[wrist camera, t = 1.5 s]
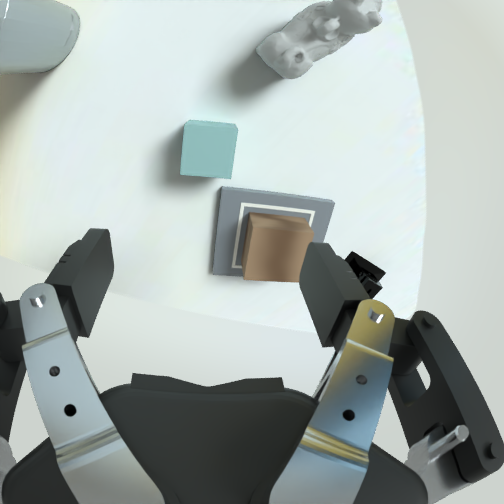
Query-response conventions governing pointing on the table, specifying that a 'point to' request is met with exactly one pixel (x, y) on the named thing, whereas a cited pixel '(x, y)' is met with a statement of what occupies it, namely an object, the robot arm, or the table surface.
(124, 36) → the table surface
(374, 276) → the black stepped block
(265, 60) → the dog figurine
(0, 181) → the table surface
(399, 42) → the table surface
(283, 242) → the walnut block
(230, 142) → the teal cube
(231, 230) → the board
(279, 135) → the table surface
